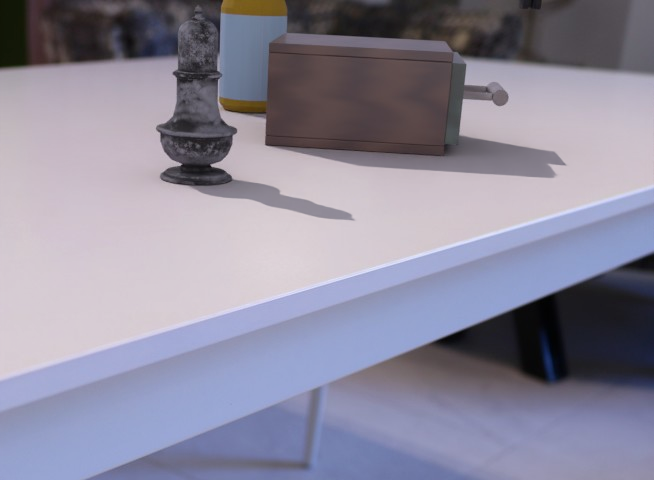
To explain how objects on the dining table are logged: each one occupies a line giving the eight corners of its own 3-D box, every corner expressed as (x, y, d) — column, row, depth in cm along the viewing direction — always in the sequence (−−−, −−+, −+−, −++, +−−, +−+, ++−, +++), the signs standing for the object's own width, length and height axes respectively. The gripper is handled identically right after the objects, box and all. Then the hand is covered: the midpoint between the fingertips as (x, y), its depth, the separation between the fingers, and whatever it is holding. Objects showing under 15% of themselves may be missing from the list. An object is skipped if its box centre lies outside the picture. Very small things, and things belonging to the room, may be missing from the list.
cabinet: (436, 131, 105) (445, 41, 102) (443, 155, 91) (453, 52, 88) (281, 122, 106) (285, 32, 103) (265, 144, 92) (268, 42, 89)
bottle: (232, 113, 110) (237, -41, 105) (209, 104, 116) (212, -42, 110) (293, 112, 113) (300, -38, 107) (267, 104, 119) (273, -39, 113)
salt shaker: (230, 170, 80) (235, 4, 76) (241, 186, 75) (246, 8, 71) (153, 169, 79) (153, 1, 75) (158, 185, 74) (158, 4, 70)
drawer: (493, 126, 103) (501, 54, 101) (506, 148, 91) (516, 66, 89) (304, 115, 105) (307, 43, 102) (292, 135, 92) (296, 54, 90)
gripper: (638, -219, 89) (607, 10, 96) (461, -222, 90) (442, 4, 97) (659, -235, 82) (624, 13, 89) (466, -238, 83) (446, 6, 90)
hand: (529, 8), depth 93 cm, fingers closed
